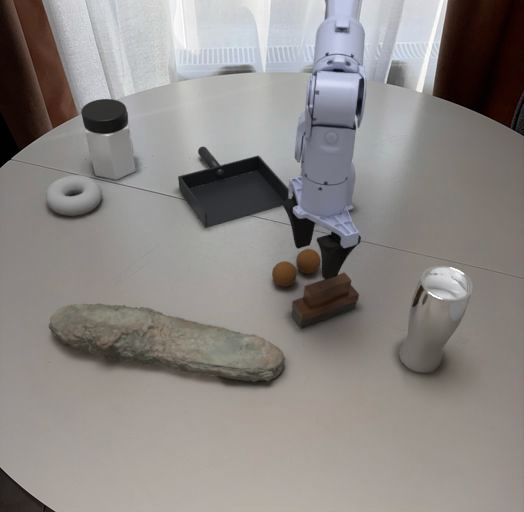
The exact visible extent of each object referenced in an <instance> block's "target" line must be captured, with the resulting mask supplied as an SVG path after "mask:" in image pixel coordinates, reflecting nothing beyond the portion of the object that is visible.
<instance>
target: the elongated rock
mask: <svg viewBox="0 0 524 512" xmlns="http://www.w3.org/2000/svg"><path fill="white" fill-rule="evenodd" d="M48 328H49V330H50V331H51V334H53V335H56V337H57V338H58V340H60V341H61V343H62V345H64V346H66V347H69V346H70V347H73V348H74V349H76V350H81V351H85V352H88V353H93V354H97V355H99V356H100V357H103V356H104V357H105V358H108V360H109V361H110V362H113V361H114V360H121V361H122V362H125V361H132V362H135V363H141V364H144V365H151V366H152V365H153V366H154V365H155V366H163V367H166V368H169V369H173V370H178V371H181V372H189V373H191V374H195V375H196V374H197V375H198V374H199V375H207V376H215V377H220V378H226V379H231V380H235V381H242V382H243V381H244V382H245V381H249V382H252V383H255V382H258V381H266V382H269V381H271V380H273V379H276V378H277V377H278V376H279V375H280V374H281V373H282V372H283V370H284V367H285V364H286V356H284V353H283V351H282V350H281V349H280V348H279V347H278V346H276V345H275V344H274V343H272V342H270V341H268V340H266V339H265V338H264V337H261V336H258V335H255V334H248V333H241V332H239V331H234V330H230V329H228V328H225V327H221V326H216V325H212V324H205V323H201V322H197V321H194V320H190V319H185V318H183V317H178V316H172V315H166V314H163V312H160V311H157V310H155V309H153V308H150V307H143V306H140V307H137V306H135V307H132V306H126V305H125V304H123V305H120V304H114V305H111V304H105V303H95V304H94V303H78V304H77V303H74V304H67V305H64V306H62V307H59V308H58V309H56V310H55V311H54V312H53V313H52V315H51V317H50V319H49V324H48Z"/></svg>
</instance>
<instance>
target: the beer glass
mask: <svg viewBox="0 0 524 512" xmlns="http://www.w3.org/2000/svg"><path fill="white" fill-rule="evenodd" d="M473 285H474V284H473V282H472V279H470V277H469V276H468V275H467V273H465V272H464V271H462V270H460V269H458V268H456V267H453V266H451V265H450V266H449V265H444V264H443V265H440V264H439V265H433V266H430V267H428V268H426V269H424V271H423V272H422V273H421V275H420V278H419V280H418V283H417V285H416V287H415V290H414V292H413V296H412V298H411V303H410V306H409V311H408V325H407V326H408V327H407V335H406V338H405V340H404V342H403V343H402V344H401V346H400V348H399V349H398V357H399V360H400V362H401V364H403V366H404V367H406V368H407V369H409V370H410V371H412V372H415V373H419V374H427V373H429V374H430V373H432V372H434V371H436V370H437V369H438V368H439V366H440V365H441V362H442V357H443V350H444V347H445V346H446V344H447V343H448V341H449V340H450V338H451V337H452V336H453V334H454V333H455V332H456V331H457V329H458V327H459V326H460V324H461V322H462V320H463V318H464V315H465V314H466V311H467V308H468V305H469V302H470V298H471V295H472V292H473V290H474V289H473V288H474V286H473Z"/></svg>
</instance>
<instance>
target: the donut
mask: <svg viewBox="0 0 524 512" xmlns="http://www.w3.org/2000/svg"><path fill="white" fill-rule="evenodd" d="M102 197H103V193H102V188H101V186H100V185H99V183H98V182H97V180H95V179H93V178H91V177H89V176H86V175H82V174H80V175H79V174H74V175H73V174H71V175H66V176H63V177H60V178H58V179H56V180H54V181H53V182H52V183H51V184H50V185H49V186H48V187H47V190H46V192H45V201H46V204H47V205H48V207H49V208H50V209H51V210H52V211H53V212H55V213H57V214H60V215H63V216H71V217H72V216H73V217H74V216H81V215H84V214H87V213H89V212H91V211H93V210H94V209H95V208H97V207H98V205H100V202H101V200H102Z"/></svg>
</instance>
